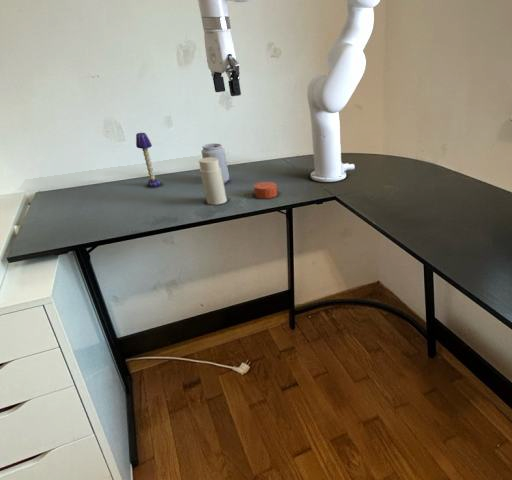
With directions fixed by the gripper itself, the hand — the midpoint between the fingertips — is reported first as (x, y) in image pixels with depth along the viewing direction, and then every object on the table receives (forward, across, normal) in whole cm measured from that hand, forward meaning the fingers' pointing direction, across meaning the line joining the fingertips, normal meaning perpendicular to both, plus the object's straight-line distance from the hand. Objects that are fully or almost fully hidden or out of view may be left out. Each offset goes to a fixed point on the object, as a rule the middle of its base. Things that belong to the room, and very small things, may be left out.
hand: (228, 93), depth 141 cm
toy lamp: (+28, -23, -22) cm, 42 cm away
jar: (+28, +6, -13) cm, 32 cm away
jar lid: (+26, +12, +2) cm, 28 cm away
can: (+28, -12, -3) cm, 31 cm away
